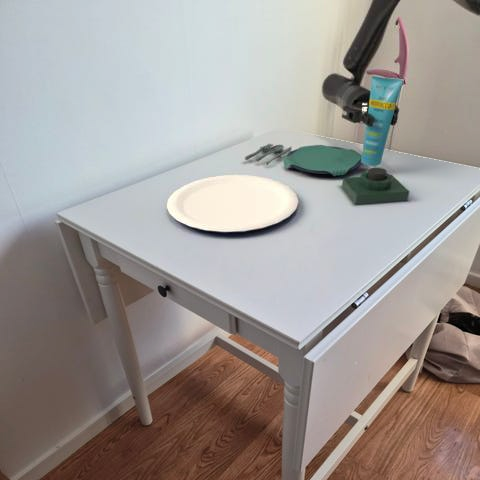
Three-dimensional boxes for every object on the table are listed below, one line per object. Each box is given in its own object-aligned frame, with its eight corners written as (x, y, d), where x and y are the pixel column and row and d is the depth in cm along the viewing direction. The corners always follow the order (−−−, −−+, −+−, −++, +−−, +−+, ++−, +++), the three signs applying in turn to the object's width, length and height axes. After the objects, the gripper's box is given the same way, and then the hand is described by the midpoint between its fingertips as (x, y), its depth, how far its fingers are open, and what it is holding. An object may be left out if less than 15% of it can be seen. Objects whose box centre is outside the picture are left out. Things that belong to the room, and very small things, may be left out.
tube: (353, 163, 107) (367, 77, 94) (360, 157, 110) (375, 73, 97) (382, 169, 104) (400, 80, 91) (388, 162, 107) (407, 76, 94)
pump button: (381, 174, 97) (382, 166, 96) (388, 181, 94) (389, 173, 93) (364, 175, 97) (365, 168, 96) (370, 182, 94) (372, 174, 93)
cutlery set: (344, 185, 102) (346, 176, 100) (239, 164, 114) (239, 156, 113) (371, 159, 115) (373, 151, 113) (273, 143, 127) (274, 135, 126)
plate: (220, 172, 110) (220, 166, 109) (321, 197, 97) (322, 190, 96) (139, 215, 93) (138, 207, 91) (249, 253, 79) (249, 245, 78)
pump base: (389, 183, 102) (393, 166, 100) (407, 200, 95) (411, 183, 92) (341, 186, 101) (343, 170, 99) (355, 204, 94) (358, 187, 91)
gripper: (334, 89, 108) (356, 105, 95) (388, 86, 109) (417, 102, 96) (330, 120, 113) (351, 140, 100) (382, 117, 114) (409, 136, 101)
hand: (383, 121), depth 98 cm, fingers closed on tube, 5 cm apart
